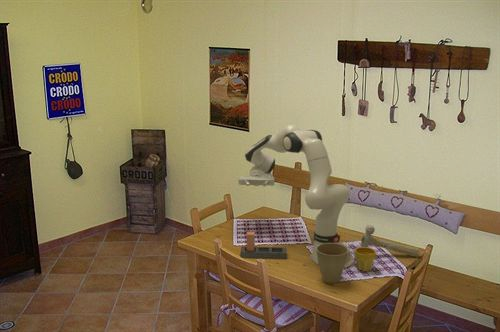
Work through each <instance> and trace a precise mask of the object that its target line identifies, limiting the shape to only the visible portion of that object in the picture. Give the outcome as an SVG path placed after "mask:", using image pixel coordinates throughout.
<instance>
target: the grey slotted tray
mask: <svg viewBox="0 0 500 332" xmlns="http://www.w3.org/2000/svg"><path fill="white" fill-rule="evenodd" d="M287 255H288V250H287V247H286V246H285V247H283V246H255V250H254V252H251V251H247V245H246V246H245V245H241V246H240V256H241V257H242V258H243V259H248V258H249V259H275V260H276V259H277V260H279V259H280V260H287V258H288V257H287Z"/></svg>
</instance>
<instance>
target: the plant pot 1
mask: <svg viewBox="0 0 500 332" xmlns="http://www.w3.org/2000/svg"><path fill="white" fill-rule="evenodd" d="M344 245H345V244H344ZM344 245H341V244H337V243H323V244H320V245H318V246H317V248H316V250H317V258H318V263H319V264H318V267H319V271H320V274H321V277H322V280H323V281H324V282H326V283H327V284H336V283H338V282H340V279H341V276H342V275H343V272H344V269H345V268H344V267H345V263H346V260H347V255H348V248H349V247H348V246H347V245H345V246H344ZM346 246H347V247H348V248H347V247H346Z"/></svg>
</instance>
